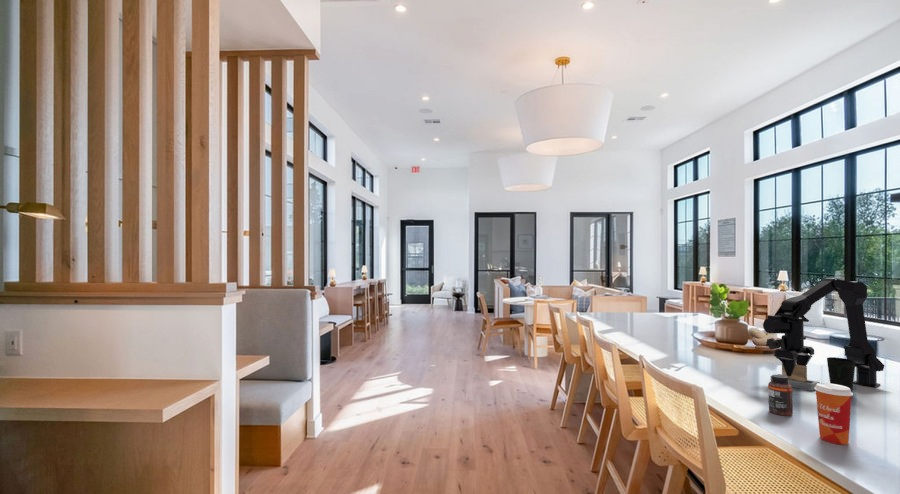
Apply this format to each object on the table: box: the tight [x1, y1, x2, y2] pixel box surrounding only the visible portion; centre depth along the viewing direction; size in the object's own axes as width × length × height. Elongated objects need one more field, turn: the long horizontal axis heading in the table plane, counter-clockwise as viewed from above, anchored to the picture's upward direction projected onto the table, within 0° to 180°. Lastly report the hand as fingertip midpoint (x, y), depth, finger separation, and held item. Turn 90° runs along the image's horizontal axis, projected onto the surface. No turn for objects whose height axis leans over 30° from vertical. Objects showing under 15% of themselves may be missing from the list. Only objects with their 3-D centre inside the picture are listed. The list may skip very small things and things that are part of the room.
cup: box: [826, 356, 856, 393], centre depth 156 cm, size 8×8×12 cm
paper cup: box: [814, 382, 854, 446], centre depth 114 cm, size 8×8×14 cm
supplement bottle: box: [767, 374, 794, 417], centre depth 135 cm, size 6×6×11 cm
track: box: [770, 373, 821, 392], centre depth 166 cm, size 7×13×2 cm, turn 31°
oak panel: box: [781, 363, 808, 383], centre depth 166 cm, size 2×7×7 cm, turn 30°
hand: (794, 374), depth 166 cm, fingers open, 9 cm apart
